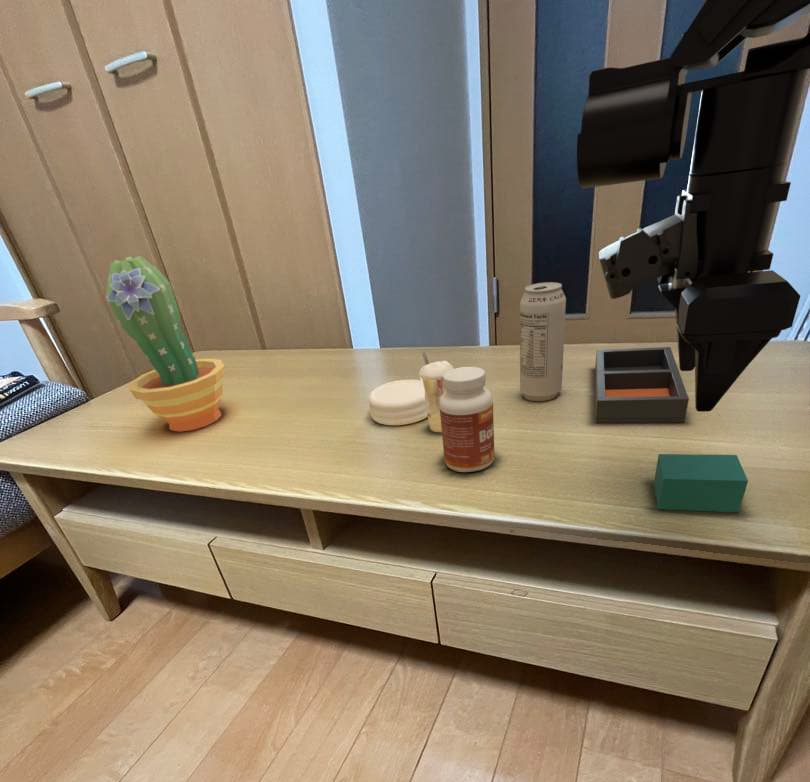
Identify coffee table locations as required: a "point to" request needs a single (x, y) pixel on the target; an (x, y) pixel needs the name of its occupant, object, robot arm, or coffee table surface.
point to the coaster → (398, 403)
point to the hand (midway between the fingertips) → (694, 389)
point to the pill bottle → (467, 420)
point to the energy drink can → (542, 340)
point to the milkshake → (433, 389)
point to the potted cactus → (163, 348)
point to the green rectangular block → (699, 482)
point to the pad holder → (638, 386)
